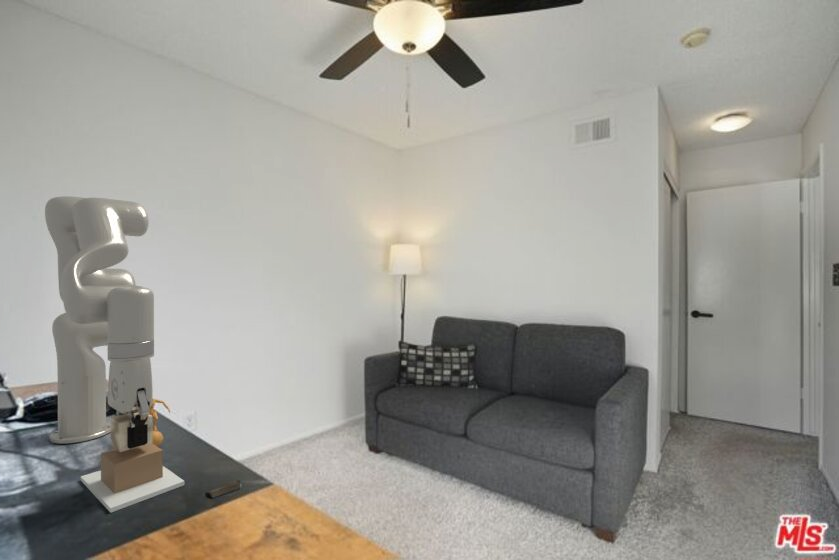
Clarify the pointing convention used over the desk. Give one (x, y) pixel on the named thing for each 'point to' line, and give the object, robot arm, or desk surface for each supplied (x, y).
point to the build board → (132, 492)
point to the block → (224, 489)
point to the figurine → (156, 434)
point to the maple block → (125, 431)
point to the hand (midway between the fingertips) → (131, 441)
